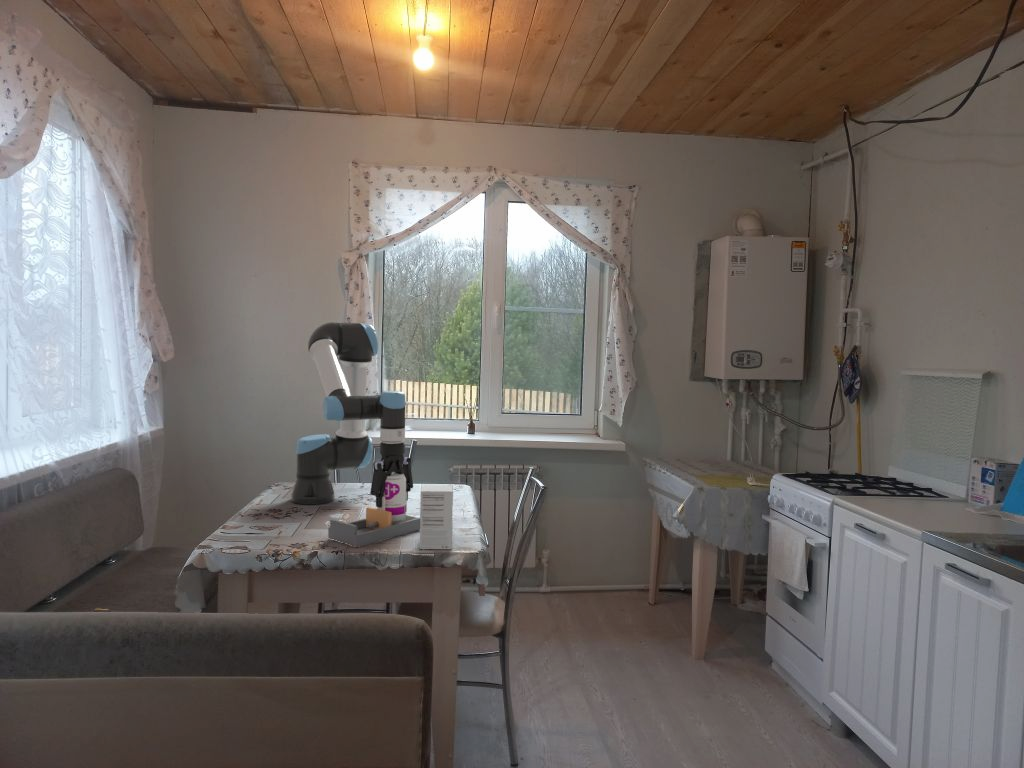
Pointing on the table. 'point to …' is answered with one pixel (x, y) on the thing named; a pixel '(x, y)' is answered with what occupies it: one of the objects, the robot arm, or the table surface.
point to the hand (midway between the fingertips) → (392, 514)
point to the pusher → (377, 518)
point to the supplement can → (395, 497)
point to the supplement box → (436, 516)
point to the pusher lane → (369, 531)
